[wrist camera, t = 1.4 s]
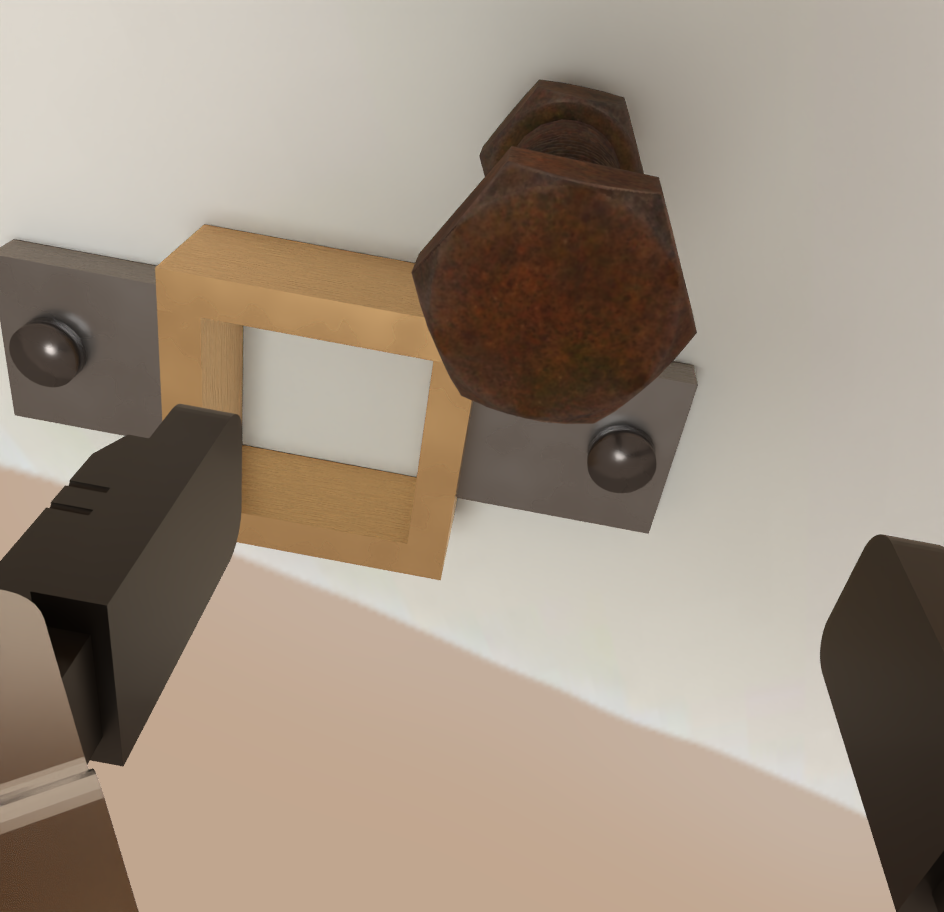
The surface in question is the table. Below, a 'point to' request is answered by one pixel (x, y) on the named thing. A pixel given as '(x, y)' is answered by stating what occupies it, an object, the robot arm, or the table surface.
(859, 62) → the table surface
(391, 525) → the square wooden frame
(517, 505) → the gray knob plate
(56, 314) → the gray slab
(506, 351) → the bolt
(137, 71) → the table surface
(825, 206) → the table surface
